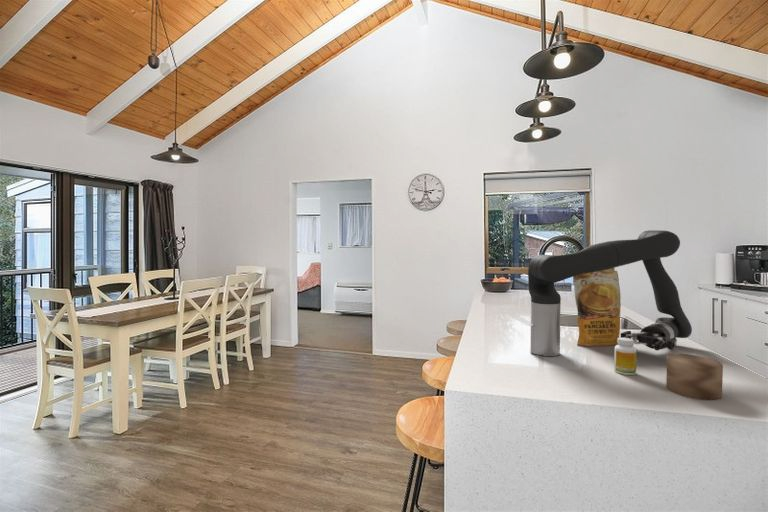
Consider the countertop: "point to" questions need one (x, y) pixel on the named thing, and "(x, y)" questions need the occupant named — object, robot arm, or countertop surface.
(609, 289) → the pancake mix bag
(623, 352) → the supplement bottle
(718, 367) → the walnut block
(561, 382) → the countertop surface
